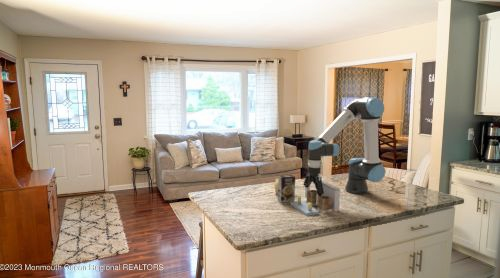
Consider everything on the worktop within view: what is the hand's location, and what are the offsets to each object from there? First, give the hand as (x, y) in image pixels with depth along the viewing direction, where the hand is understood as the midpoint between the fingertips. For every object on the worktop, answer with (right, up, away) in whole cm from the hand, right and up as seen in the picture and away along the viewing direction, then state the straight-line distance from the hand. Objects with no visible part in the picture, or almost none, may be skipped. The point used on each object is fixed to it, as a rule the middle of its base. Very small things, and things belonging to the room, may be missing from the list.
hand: (312, 200), depth 203 cm
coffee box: (-15, -1, +6) cm, 17 cm away
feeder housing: (+9, -3, -4) cm, 10 cm away
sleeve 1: (0, -2, 0) cm, 2 cm away
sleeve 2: (+4, -4, -12) cm, 13 cm away
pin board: (-7, -3, -9) cm, 11 cm away
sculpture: (-16, +1, +23) cm, 28 cm away
